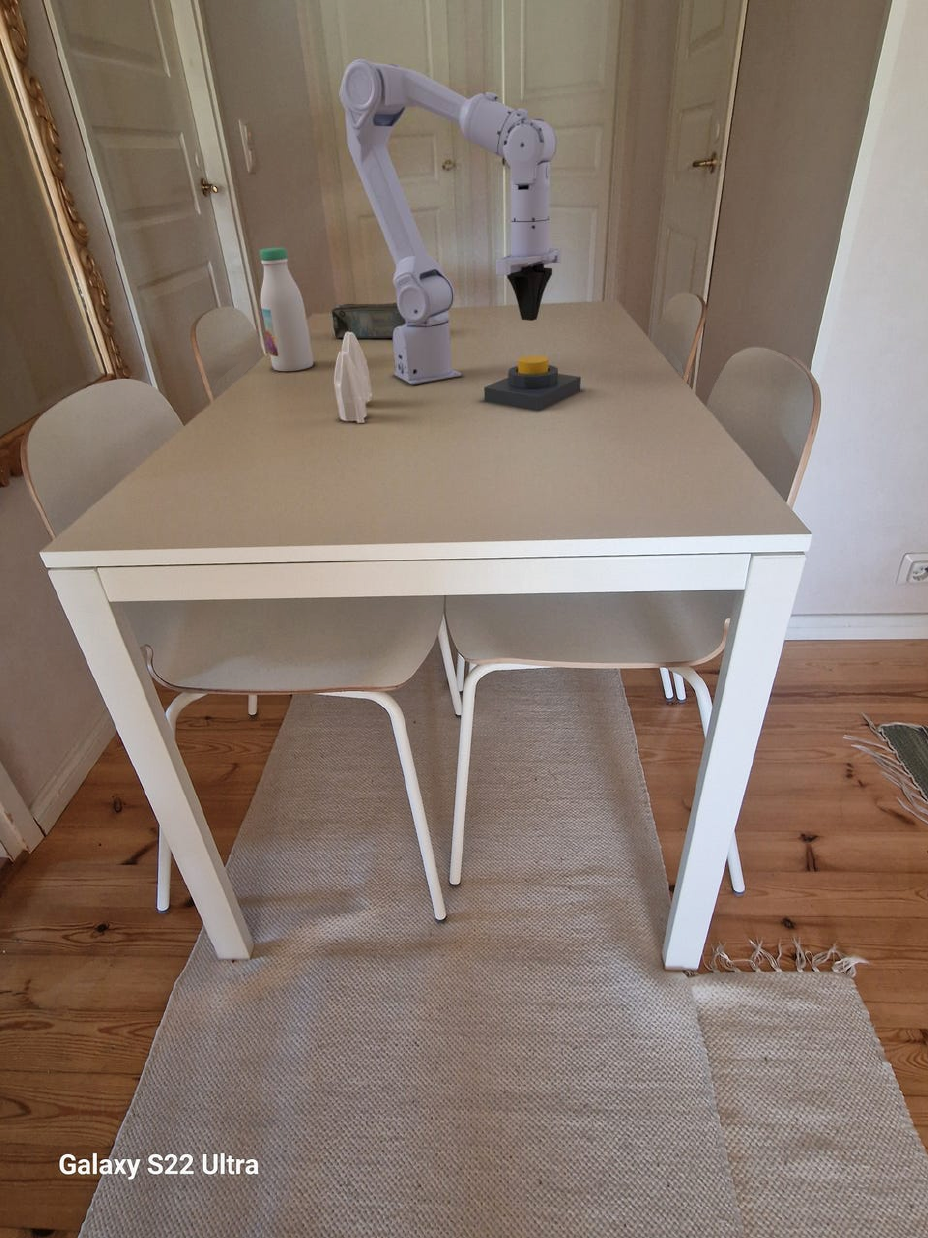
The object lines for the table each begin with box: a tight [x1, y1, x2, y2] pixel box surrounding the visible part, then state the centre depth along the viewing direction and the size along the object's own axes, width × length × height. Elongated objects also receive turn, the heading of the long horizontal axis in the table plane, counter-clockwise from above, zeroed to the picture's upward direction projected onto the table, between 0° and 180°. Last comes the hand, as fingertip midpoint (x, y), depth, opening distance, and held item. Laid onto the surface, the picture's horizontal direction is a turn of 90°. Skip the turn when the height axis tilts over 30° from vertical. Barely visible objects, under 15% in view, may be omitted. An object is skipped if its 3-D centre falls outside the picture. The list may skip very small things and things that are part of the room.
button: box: [517, 354, 549, 374], centre depth 105 cm, size 5×5×2 cm
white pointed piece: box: [333, 332, 373, 424], centre depth 102 cm, size 12×4×11 cm, turn 179°
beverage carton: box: [330, 302, 406, 339], centre depth 149 cm, size 8×19×7 cm, turn 74°
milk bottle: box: [259, 247, 314, 372], centre depth 125 cm, size 8×8×20 cm
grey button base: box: [483, 364, 582, 412], centre depth 106 cm, size 12×10×4 cm
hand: (529, 319), depth 108 cm, fingers closed
